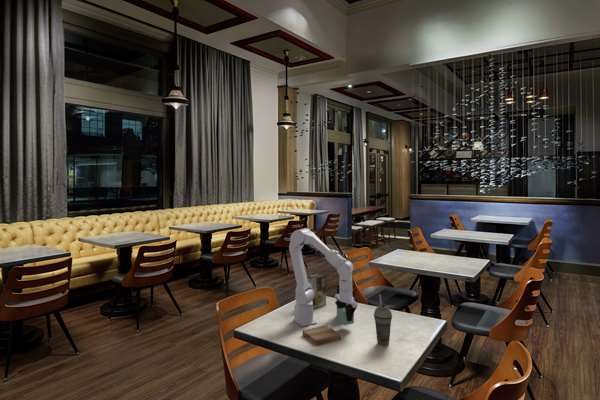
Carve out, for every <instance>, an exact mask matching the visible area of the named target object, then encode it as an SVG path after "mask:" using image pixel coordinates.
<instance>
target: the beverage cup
mask: <svg viewBox="0 0 600 400" xmlns="http://www.w3.org/2000/svg"><path fill="white" fill-rule="evenodd" d="M379 302H380V305H378V306H377V307H376V308H375V309H374V313H373V317H374V323H375V332H376V343H377V345H378V346H380V347H388V346H389V345H390V336H391V326H392V324H391V323H392V319H393V313H392V311H391V308H389V306H387V305H384V304H383V302H382V295H381V294H380V293H379Z"/></svg>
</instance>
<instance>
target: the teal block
mask: <svg viewBox="0 0 600 400" xmlns="http://www.w3.org/2000/svg"><path fill="white" fill-rule="evenodd" d="M337 321H338V323H340V324H341V325H343V326H349V325H352V324H355V314H354V315H353V318H352V321H349V322H348V321H347V315H346V310H345V307H344V308H339V309H338V319H337Z"/></svg>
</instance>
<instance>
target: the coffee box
mask: <svg viewBox="0 0 600 400" xmlns="http://www.w3.org/2000/svg"><path fill="white" fill-rule="evenodd" d="M307 279H308V282H309V283H310V284H311V287H312V289H313V290H314V292H315V297H314V299H313V309H317V308H319V307H320V308H321V307H324V306H326V305H327V285H326V283H327V282H326V279H327V277H326V275H323V274H322V273H315V274H311V275H307ZM316 307H317V308H316Z"/></svg>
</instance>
